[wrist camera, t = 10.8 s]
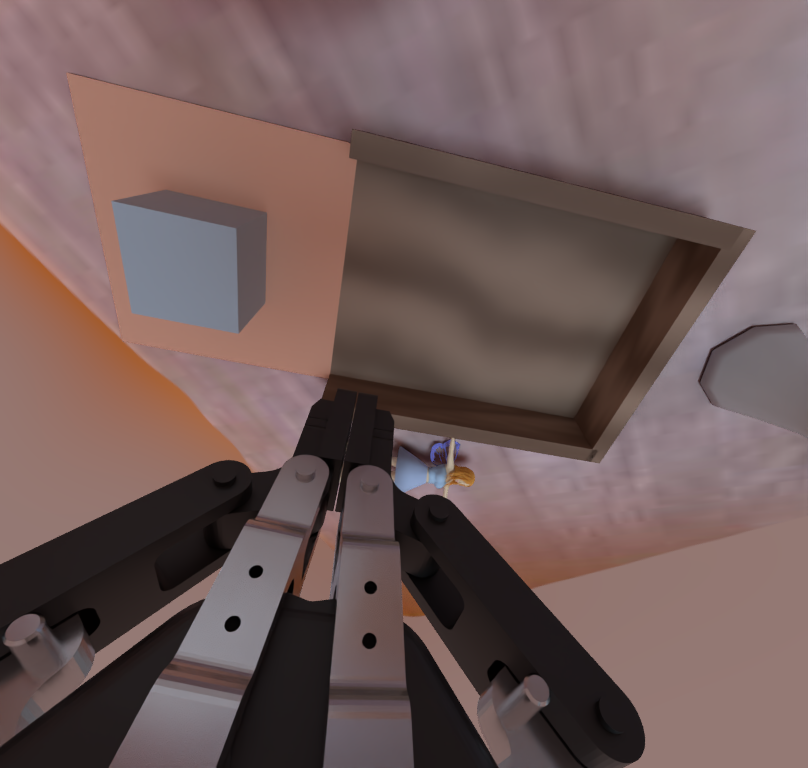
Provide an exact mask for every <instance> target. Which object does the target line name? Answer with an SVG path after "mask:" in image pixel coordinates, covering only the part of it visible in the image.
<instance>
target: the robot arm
mask: <svg viewBox="0 0 808 768" xmlns="http://www.w3.org/2000/svg"><path fill="white" fill-rule="evenodd" d="M356 397H357V391H351V390H346V389H341V388H338V389H337V392H336V396H335V399H334V401H330V400H325V399H320V400H319V401H318V402H316V403H315V404H314V405H313V406H312V407H311V410H310V413H309V415H308V418H307V420H306V423H305V426H304V428H303V431H302V434H301V436H300V439H299V442H298V444H297V447H296V450H295V452H294V455H293V457H292V458H291V459H289V460H288V461H286V462H285V463H284V465H283V466H282V467H281V468H279V469H276V470H273V471H267V472H257V473H251V471H250V469H249V468H248V467H247V466H246V465H245V464H243V463H241V462H238V461H232V460H225V461H219V462H216V463H213V464H211V465H209V466H206V467H205V468H202V469H200V470H198V471H196V472H194V473H192V474H190V475H188V476H186V477H184V478H182V479H179V480H177V481H175V482H173V483H171V484H169V485H166V486H165V487H162V488H160V489H158V490H156V491H154V492H152V493H150V494H148V495H145V496H143V497H141V498H139V499H137V500H135V501H133V502H131V503H129V504H126V505H124V506H122V507H120V508H118V509H116V510H114V511H112V512H110V513H108V514H106V515H103V516H101V517H99V518H97V519H95V520H93V521H91V522H89V523H86V524H84V525H82V526H81V527H78V528H76V529H74V530H72V531H70V532H68V533H65V534H63V535H61V536H59V537H57V538H55V539H53V540H51V541H49V542H46V543H44V544H42V545H40V546H38V547H36V548H34V549H32V550H30V551H27V552H25V553H23V554H21V555H19V556H17V557H15V558H13V559H11V560H9V561H7V562H4V563H2V564H0V768H623V767H625V766H627V765H629V764H631V763H633V762H635V761H637V760H638V759H639V758H640V757H641V755H642V754H643V751H644V747H645V734H644V729H643V726H642V723H641V720H640V717H639V715H638V713H637V711H636V709H635V707H634V706H633V704H632V703H631V701H630V700H629V698H628V697H627V696H626V695H625V694H624V693H623V691H622V690H621V689H620V688H619V687H618V686H617V685H616V684H615V682H613V680H612V679H611V678H610V677H609V676H608V675H607V674H606V672H605V671H604V670H603V669H602V668H601V667H600V666H599V665H598V664H597V662H596V661H595V660H594V659H593V658H592V657H591V656H590V655H589V654H588V652H587V651H586V650H585V649H584V648H583V647H582V646H581V645H580V644H579V643H578V641H577V640H576V639H575V638H574V637H573V636H572V635H571V634H570V633H569V631H568V630H567V629H566V628H565V627H564V626H563V625H562V624H561V622H560V621H559V620H558V619H557V618H556V617H555V616H554V615H553V613H552V612H551V611H550V610H549V609H548V608H547V607H546V606H545V605H544V604H543V602H542V601H541V600H540V599H539V598H538V597H537V596H536V595H535V593H534V592H533V591H532V590H531V589H530V588H529V587H528V586H527V585H526V583H525V582H524V581H523V580H522V579H521V578H520V577H519V576H518V575H517V573H516V572H515V571H514V570H513V569H512V568H511V567H510V566H509V565H508V563H507V562H506V561H505V560H504V559H503V558H502V557H501V556H500V555H499V553H498V552H497V551H496V550H495V549H494V548H493V547H492V546H491V545H490V543H489V542H488V541H487V540H486V539H485V538H484V537H483V536H482V535H481V533H480V532H479V531H478V530H477V529H476V528H475V527H474V526H473V525H472V523H471V522H470V521H469V520H468V519H467V518H466V517H465V516H464V515H463V513H462V512H461V511H460V510H459V509H458V508H457V507H456V506H455V505H454V504H453V503H452V502H451V501H450V500H449V499H447V498H445V497H442V496H439V495H426V496H423V497H421V498H420V499H419V500H418V499H416V498H414V497H412V496H410V495H408V494H406V493H404V492H402V491H401V490H400V489H399V488H398V487H397V486H396V485H395V483H394V482H393V480H392V477H391V464H392V450H393V435H394V419H393V417H392V415H391V413H390V411H385V410H380V409H376V407H377V400H378V395H373V394H368V393H362V392H359V394H358V399H357V403H356V408H355V402H356ZM354 408H355V413H354ZM353 414H354V417H353ZM352 419H353V422H352ZM351 425H352V427H351ZM350 430H351V431H350ZM349 435H350V436H349ZM346 449H347V450H346ZM344 458H345V459H344ZM343 463H344V464H343ZM342 468H343V470H342ZM341 472H342V476H341ZM340 477H341V481H340ZM339 482H340V487H339V493H338V498H337V504H336V509H335V511H336V512H341V514H340V520H339V525H338V530H337V536H336V545H335V555H334V563H333V573H332V582H331V591H330V599H329V600H322V601H313V602H312V601H307V600H305V599H302V598H300V594H301V590H302V586H303V583H304V580H305V577H306V574H307V571H308V568H309V565H310V561H311V559H312V556H313V553H314V550H315V546H316V543H317V540H318V537H319V534H320V530H321V527H322V525H323V523H324V519H325V515H326V511H327V510H329V511H333V509H334V505H335V500H336V495H337V491H338V486H339ZM222 566H223V567H222ZM221 567H222V569H221V571H220V573H219V574H218V576H217V578H216V580H215V582H214V584H213V586H212V587H211V590H210V591H209V593H208V595H207V597H206V599H203V600H200V601H198V602H196V603H194V604H192V605H190V606H188V607H187V608H185V609H183V610H182V611H180V612H178V613H177V614H176V615H174V616H173V617H171V618H170V619H169V620H167V621H166V622H165V623H163V624H162V625H161V626H159V627H158V628H157V629H155V630H154V631H153V632H152V633H150V634H149V635H148V636H146V637H145V638H144V639H142V640H141V641H140V642H138V643H137V644H136V645H134V646H133V647H132V648H130V649H129V650H128V651H126V652H125V653H124V654H122V655H121V656H120V657H118V658H117V659H116V660H115V661H113V662H112V663H111V664H109V665H108V666H107V667H105V668H104V669H102V670H101V671H100V672H99V673H97V674H96V675H95V676H93V677H92V678H91V679H89V680H88V681H87V682H85V683H84V684H83V685H81V686H80V687H79V688H77V687H78V686H79V685H80V684H81V683H82V682H83V680H84V679H85V678H86V676H87V675H88V673H89V671H90V669H91V667H92V664H93V661H94V657H95V653H97V652H98V651H100V650H101V649H103V648H104V647H106V646H107V645H109V644H110V643H112V642H113V641H114V640H116V639H117V638H119V637H120V636H122V635H123V634H125V633H126V632H128V631H129V630H130V629H132V628H133V627H135V626H136V625H138V624H139V623H141V622H142V621H144V620H145V619H146V618H148V617H149V616H151V615H152V614H154V613H155V612H157V611H158V610H160V609H161V608H162V607H164V606H165V605H167V604H168V603H170V602H171V601H173V600H174V599H176V598H177V597H178V596H180V595H182V594H183V593H184V592H186V591H187V590H189V589H190V588H192V587H193V586H195V585H196V584H198V583H199V582H201V581H202V580H203V579H205V578H206V577H208V576H209V575H211V574H212V573H214V572H215V571H216V570H218V569H219V568H221ZM401 580H402V582H403V583H404V584H405V586H406V587H407V589H408V590H409V592H410V593H411V595H412V596H413V598H414V599H415V601H416V602H417V604H418V605H419V607H420V608H421V610H422V611H423V613H424V614H425V615H426V617H427V618H428V620H429V621H430V623H431V624H432V626H433V627H434V629H435V630H436V632H437V633H438V635H439V636H440V638H441V639H442V641H443V642H444V644H445V645H446V646H447V648H448V649H449V651H450V652H451V654H452V655H453V657H454V658H455V660H456V661H457V663H458V664H459V666H460V667H461V669H462V670H463V671H464V673H465V675H466V676H467V678H468V679H469V680H470V682H471V683H472V685H473V686H474V688H475V689H476V691H477V692H478V694H479V695H480V698H479V701H478V706H477V716H478V722H479V726H480V729H481V732H482V734H483V736H484V738H485V740H486V742H487V744H488V746H489V749H490V752H491V754H490V752H489V750H488V749H487V747H486V745H485V744H484V742H483V740H482V739H481V737H480V735H479V734H478V732H477V730H476V729H475V727H474V725H473V724H472V722H471V720H470V719H469V717H468V715H467V714H466V712H465V710H464V709H463V707H462V705H461V704H460V702H459V701H458V699H457V697H456V695H455V694H454V692H453V690H452V689H451V687H450V685H449V684H448V682H447V680H446V679H445V677H444V675H443V674H442V672H441V670H440V669H439V667H438V665H437V664H436V662H435V661H434V659H433V657H432V655H431V654H430V652H429V650H428V649H427V647H426V646H425V644H424V643H423V641H422V640H421V639H420V637H419V636H418V635H417V634H416V633H415V632H414V631H413V630H412V629H411V628H410V627H409V626H408V625H407V624H405V623H404V622H403V607H402V585H401ZM76 688H77V689H76ZM75 689H76V690H75ZM74 690H75V691H74Z"/></svg>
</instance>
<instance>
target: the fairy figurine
mask: <svg viewBox="0 0 808 768" xmlns="http://www.w3.org/2000/svg"><path fill="white" fill-rule="evenodd" d="M446 443H447V445H446ZM455 444H456V448H457V450H458V451H459V447H460V446H459V445H460V444H459V443H458V442H456V441H455V438H451V440H448V441H447V442H445V443H444V444H441V443H438V444H435V445H434V446H433V447H432V450H433V451H434V452H436V448H437V449H438V447H441V449H442V448H444V450H445V455H446V457H445V458H446V464H441V465H436V464H435V465H436V467H433V468H428V467H427V466H426V465H425V464H424V463H423V462H422V461H421V460H420V459H418V458H417V457H415V456H414V455H412V454H411V453H410V452H408V451H407V450H405V449H404V448H403V447H401V446H400V447H399V451H398V457H392V464H391V465H392V466H394V467H396V471H391V477H392V480H393V481H395V485H396V486H397V487H398V488H399V489H400V490H401V491H402V492H406V491H408V490H411V489H413V488H416V487H418V486H420V485H423V484H425V483H432V484H434V485H435V486H436V488H439V489H440V488H442V487H443V486H444V487H443V488H444V491H443V497H445V498H447V493H448V488H449V486H450V485H452V483H453V484H455V485H457V484H459V485H462V486H466V487H469V486H471V485H472V484H473V483H474V481H475V476H474V473H473V471H472V470H470V469H469V468H467V467H458V466H457V465H456V464H455V465H454V460H455V459H456V457H455V459H454V458H453V452H454V445H455ZM457 444H458V447H457ZM439 445H441V446H439ZM442 445H443V446H442ZM447 446H449V453H448V456H447V452H446V447H447ZM433 448H434V449H433ZM346 450H347V449H346ZM432 450H431V454H430V456H431V455H432V456H433V457H432V456H431V459H432V458H434V457H435V456H434V452H433V451H432ZM438 451H439V450H438ZM432 453H433V454H432ZM442 453H443V452H442ZM437 454H438V453H437ZM439 454H440V453H439ZM457 454H458V452H457ZM457 454H456V456H457ZM440 455H441V454H440ZM439 457H440V456H439ZM443 457H444V456H443ZM435 458H436V457H435ZM438 460H439V459H438ZM440 460H441V458H440ZM431 461H434V459H432V460H431ZM435 462H436V461H435ZM432 463H433V462H432ZM433 464H434V463H433ZM460 466H461V465H460ZM342 470H343V468H342ZM341 476H342V472H341ZM452 479H454V480H453V481H452ZM340 481H341V477H340Z"/></svg>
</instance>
